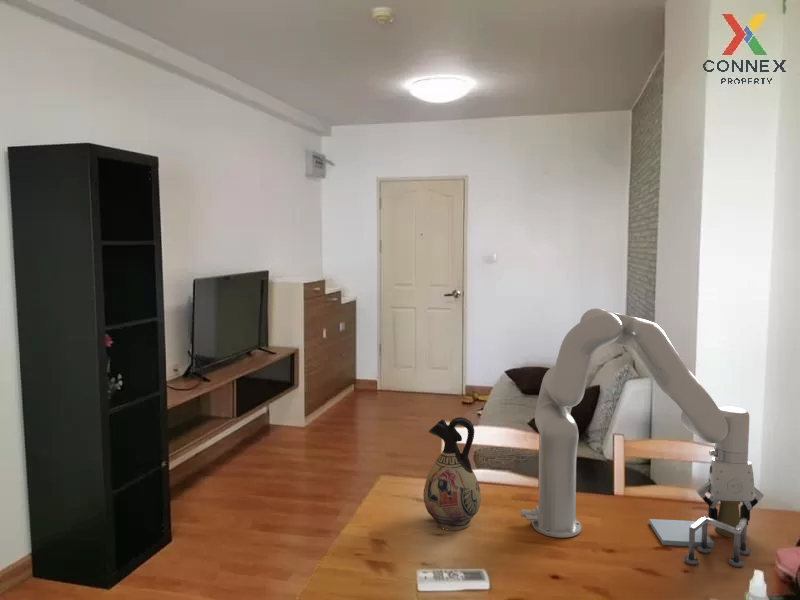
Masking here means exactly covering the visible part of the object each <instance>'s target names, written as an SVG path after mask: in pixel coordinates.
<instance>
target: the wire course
mask: <svg viewBox="0 0 800 600" xmlns="http://www.w3.org/2000/svg"><path fill="white" fill-rule="evenodd" d="M708 525H712V526H714V527H715V528H716V527H719V528H721V529H724V530H727V531H729V532H732V533H734V537H733V557H730V558H728V565H730V566H731V567H733V568H737V569H742V568H744V565H745V564H744V563H745V562H744V561H743V560H742V559H740V556H746V557H748V556H750V555H751V550H750V549H749V548H747V531H748V530H747V529H748V525H747V519H746V518H741V520H740V522H739V524H738V525H737V527H736V528H735V527H732V526H730V525H727V524H724V523H722V522H719V521H716V520H714V519H711V518H709V516H706V515H702V517H700V518H699V519H697V520H696V522H695V523H694V524H693V525H692V526H690V527H689V546H688V555H685V556H684V557H683V559H684V560H683V562H684V563H685V564H686V565H690V566H695V567H696V566H698V565H699V559H698V558H697V557H695V547H696V546H695V531H696V530H698V529H699V528H700V527H701V528H702V540H701V545H698V546H697V547H696V551H697V552H699V553H701V554H705V555H708V554H711V553H712V549H711V548H712V547H709V546H707V535H708ZM740 533H741V536H740Z"/></svg>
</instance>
